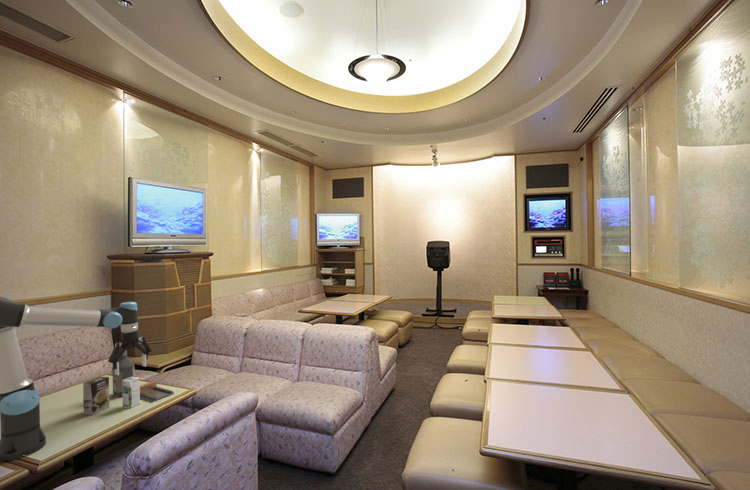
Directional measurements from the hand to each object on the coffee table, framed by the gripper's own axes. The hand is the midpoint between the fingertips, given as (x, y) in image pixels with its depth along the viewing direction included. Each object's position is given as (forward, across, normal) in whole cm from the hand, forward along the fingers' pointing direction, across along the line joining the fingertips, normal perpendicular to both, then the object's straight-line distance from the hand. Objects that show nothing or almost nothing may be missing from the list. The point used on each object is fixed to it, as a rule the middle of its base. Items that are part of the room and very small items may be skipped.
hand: (131, 370), depth 187 cm
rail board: (+19, +13, +2) cm, 23 cm away
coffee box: (+19, -11, +11) cm, 25 cm away
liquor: (+19, +7, +21) cm, 29 cm away
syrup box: (+19, 0, 0) cm, 19 cm away
